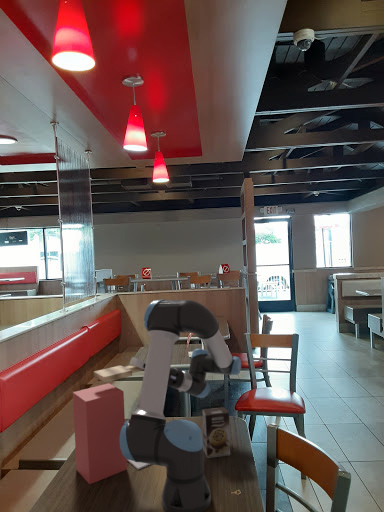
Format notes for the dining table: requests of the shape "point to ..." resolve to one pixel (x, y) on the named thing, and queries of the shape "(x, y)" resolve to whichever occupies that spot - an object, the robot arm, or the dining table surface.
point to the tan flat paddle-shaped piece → (115, 373)
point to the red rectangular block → (99, 432)
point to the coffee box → (216, 432)
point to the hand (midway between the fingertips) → (133, 361)
